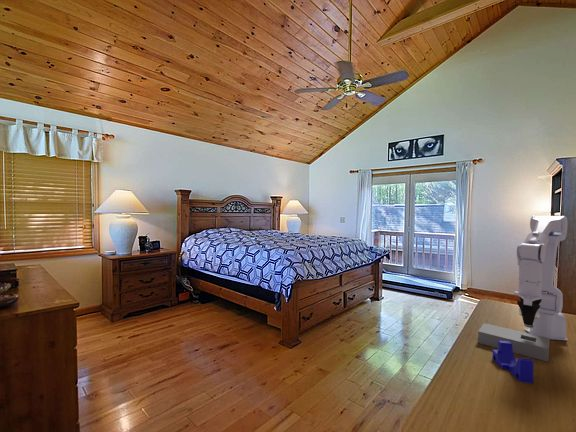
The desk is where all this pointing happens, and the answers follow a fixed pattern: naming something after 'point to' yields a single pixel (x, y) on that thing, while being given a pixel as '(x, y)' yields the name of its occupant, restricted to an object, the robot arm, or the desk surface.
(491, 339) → the grey flat block
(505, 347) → the cable clip
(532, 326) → the headed pin
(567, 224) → the robot arm
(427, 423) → the desk surface
